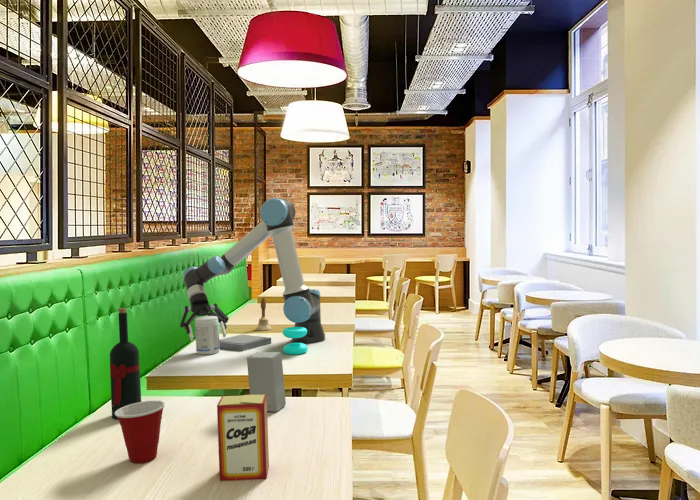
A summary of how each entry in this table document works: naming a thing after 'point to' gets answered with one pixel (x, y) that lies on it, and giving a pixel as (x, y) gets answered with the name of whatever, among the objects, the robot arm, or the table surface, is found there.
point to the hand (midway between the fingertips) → (208, 337)
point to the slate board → (243, 342)
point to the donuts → (295, 347)
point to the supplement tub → (207, 335)
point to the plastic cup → (141, 429)
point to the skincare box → (267, 378)
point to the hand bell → (263, 318)
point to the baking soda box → (243, 437)
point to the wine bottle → (124, 369)
